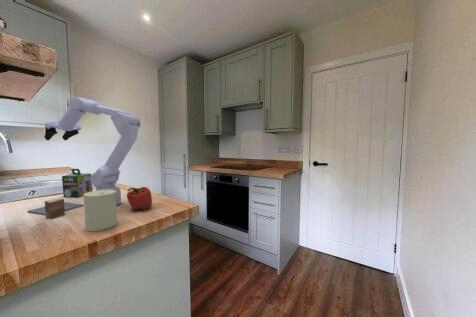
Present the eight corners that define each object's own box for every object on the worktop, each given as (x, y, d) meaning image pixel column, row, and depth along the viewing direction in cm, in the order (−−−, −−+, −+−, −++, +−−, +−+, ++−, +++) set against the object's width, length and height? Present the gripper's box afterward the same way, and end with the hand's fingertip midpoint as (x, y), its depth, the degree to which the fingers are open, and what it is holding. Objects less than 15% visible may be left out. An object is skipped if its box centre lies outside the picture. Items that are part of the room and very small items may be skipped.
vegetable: (136, 214, 78) (135, 190, 77) (119, 210, 82) (118, 187, 81) (158, 206, 87) (157, 184, 87) (142, 203, 92) (141, 182, 91)
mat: (83, 205, 88) (83, 204, 88) (48, 215, 76) (48, 214, 76) (63, 203, 92) (63, 202, 92) (27, 212, 80) (27, 210, 79)
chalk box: (93, 193, 111) (92, 167, 110) (78, 197, 101) (77, 169, 100) (78, 192, 111) (77, 167, 110) (62, 197, 102) (60, 169, 101)
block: (64, 214, 77) (63, 198, 77) (51, 218, 73) (50, 201, 72) (59, 214, 78) (58, 198, 78) (45, 218, 74) (44, 201, 73)
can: (88, 234, 61) (86, 196, 60) (81, 226, 67) (80, 191, 66) (121, 225, 68) (120, 191, 67) (112, 218, 74) (111, 187, 73)
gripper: (80, 114, 98) (66, 133, 101) (47, 110, 84) (32, 132, 87) (89, 124, 98) (74, 143, 101) (57, 121, 84) (41, 143, 86)
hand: (55, 139), depth 94 cm, fingers open, 7 cm apart
